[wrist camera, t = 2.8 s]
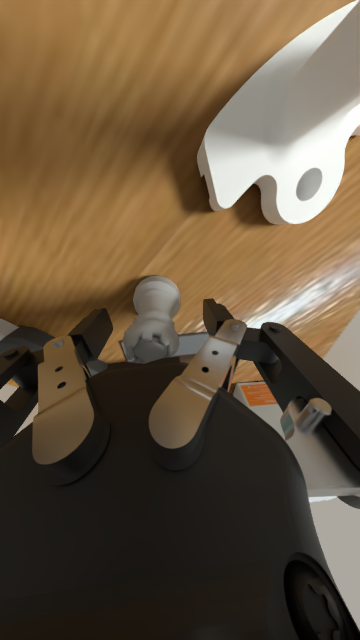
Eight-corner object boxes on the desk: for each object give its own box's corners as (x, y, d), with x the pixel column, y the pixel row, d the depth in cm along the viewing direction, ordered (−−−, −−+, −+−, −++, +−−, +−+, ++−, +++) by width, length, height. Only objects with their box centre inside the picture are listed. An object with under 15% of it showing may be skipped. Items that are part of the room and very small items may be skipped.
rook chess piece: (155, 323, 16) (147, 390, 9) (125, 292, 14) (85, 351, 7) (188, 300, 15) (207, 359, 8) (161, 264, 13) (155, 301, 6)
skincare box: (271, 379, 23) (352, 492, 13) (263, 394, 26) (327, 501, 15) (235, 382, 23) (289, 501, 13) (230, 397, 25) (273, 508, 15)
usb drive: (92, 381, 21) (82, 400, 19) (-12, 338, 16) (-43, 356, 14) (112, 362, 19) (104, 381, 17) (4, 307, 14) (-28, 323, 12)
